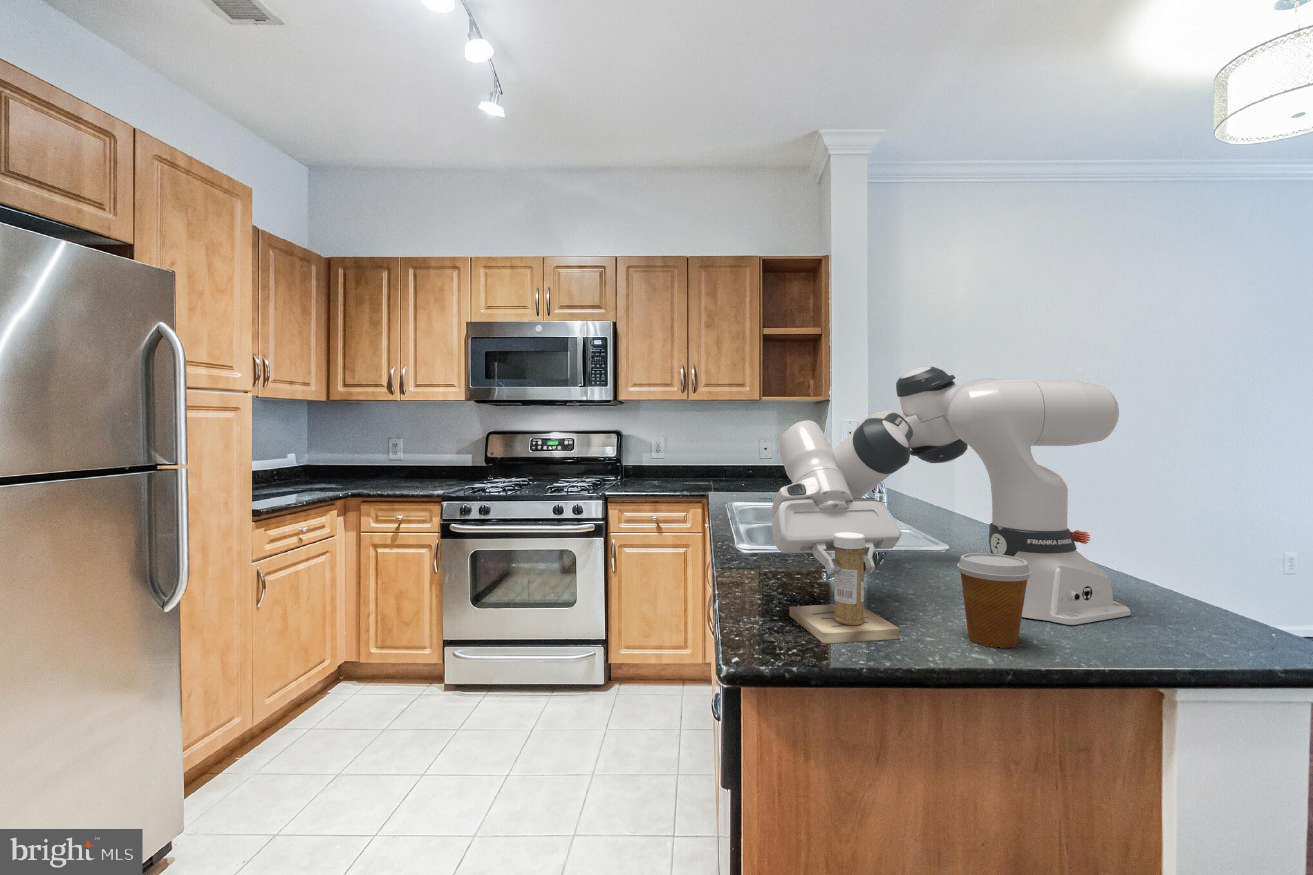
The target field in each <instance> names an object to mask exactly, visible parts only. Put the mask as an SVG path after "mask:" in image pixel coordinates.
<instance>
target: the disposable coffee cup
mask: <svg viewBox="0 0 1313 875" xmlns="http://www.w3.org/2000/svg"><path fill="white" fill-rule="evenodd" d="M956 566H957V568H958V570H959V572H960V578H961V584H962V594H963V602H964V610H965V618H966V625H967V626H966V628H967V636H968V639H969V640H971V641H972V642H974V643H976V644H978V643H979V645H983V646H986V647H989V646H990V647H989V648H997V647H1000V648H999V649H1008V648H1009V647H1011V648H1014V647H1017V646H1018V643H1019V642H1018V641H1019V635H1020V634H1019V633H1020V629H1021V628H1020V627H1021V623H1022V618H1023V617H1022V611H1023V605H1024V598H1025V592H1026V586H1027V580H1028V579H1029V575H1031V570H1029V566H1028V562H1027V561H1025V560H1023V559H1020V558H1016V557H1012V556H1007V555H999V554H991V553H987V552H986V553H984V552H983V553H982V552H979V553H978V552H973V553H972V552H971V553H965V554H961V556H960V559H959V562H958V563H957V565H956ZM1016 645H1017V646H1016ZM1006 647H1007V648H1006ZM1009 649H1010V648H1009Z"/></svg>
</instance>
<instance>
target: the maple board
mask: <svg viewBox="0 0 1313 875" xmlns="http://www.w3.org/2000/svg"><path fill="white" fill-rule="evenodd" d="M788 613H789V614H788V615H789V617H791V619H793V620H794V621H795V622H796V623H797V624H799V625H800V626H801V627H803V629H806V631H807V632H809V633H810V634H811V635H813V636H814V637H815V638H816V639H817V640H819V642H821V643H822V644H838V643H839V644H840V643H853V642H869V641H870V642H871V641H884V640H898V639H899V640H900V639H901V629H900V627H898V626H896V625H894V624H893V623H892V622H889V621H888V620H886V619H884V618H883V617H881V616H879V615H878V614H876V613H875V612H873V611H871V610H869V609H867V607H864V619H865V620H864V623H862V624H860V625H846V624H841V623H839V622H837V621H835V619H834V615H835V603H834V604H819V605H818V604H817V605H814V604H813V605H799V606H795V605H794V606H789V612H788Z"/></svg>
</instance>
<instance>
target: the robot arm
mask: <svg viewBox="0 0 1313 875" xmlns="http://www.w3.org/2000/svg"><path fill="white" fill-rule="evenodd" d="M955 379H956V376H955V375H954V374H951V375H949V374H948V373H947V372H946V371H945V370H943V369H940V368H938V367H936V366H920V367H916V368H913V369H910V370H909V371H907V372H905V373H904V374H903V375H902V376H901V377H899V378H898V379H897V381H896V383H895V389H896V396H897V397H899V404H900V407H901V411H902V412H901V411H899V410H895V409H884V410H883V409H882V410H880V411H877V412H875V413H873V414H871V415H869V416H867V417H866V418H864V419H863V420H862V421H861V422H859V424H858V425H857V426H856V427H855V429H854V430H853V433H851V434H850V435H849V436H847V437H846V438H845V439H844V440H843V441H842V442H841V443H840V444H839V445H838V446H836V447H835V448H833V447H832V446H831V444H830V442H829V440H828V439H827V436H826V435H825V433H824V431H822V428H820V426H819V424H818V423H817V422H816V421H813V420H801V421H798V422H796V423H794V424H792V425H790V426H789V427H788V428H787V429H786V430H785V431H784V432H783V433H782V435H781V436H780V438H779V452H780V456H781V460H782V464H783V467H784V470H785V472H786V475H787V477H788V478H789V480H791V484H789V485H785V486H782V487H781V488H779V490H778V491H777V494H776V496H775V498H774V500H773V503H772V506H771V511H770V515H771V517H772V518H773V519H772V523H771V532H772V535H773V536H772V537H773V541H774V545H775V547H776V549H778V550H779V551H780V552H781V553H782V554H790V553H791V554H792V553H794V554H795V553H812V554H813V557H814V559H816V560H817V561H818V562H819V563H820V564H821V565H823V566H824V569H825V571H826V573H827V575H834V574H838V572H839V571H840V565H839V564H838V560H837V559H835V558H833V557H832V556H830V554H829V553H827V552H835V548H834V547H835V546H834V534H836V533H841V532H851V533H859V534H862V535H864V536H865V547H864V551H863V552H864V574H865V573H867V574H869V573H870V574H871V573H873V572H874V570H875V568H876V566H875V563H874V560H873V554H874V551H875V550H890V549H893V548H894V547H895V546H896V545H897V544H898V542H899V540H900V539H901V536H902V531H901V528H900V526H899V525H898V523H897V521H896V520H895V518H894V515H892V514H891V511H890V510H889V509H888V508H887V505H886V504H885V503H884V501H881V500H878V499H876V498H875V497H870V496H869V497H865V498H864V496H865V495H867V494H868V493H869V492H871V491H872V490H873V489H874V488H875V487H877V486H879V484H880V483H882V482H883V481H884V480H885V479H888V477H889V476H891V475H892V474H894V473H895V472H898V471H899V470H900V469H902V468H903V467H905V466H906V465H908V464H909V462H910V458H911V456H912V457H917V458H918V459H920V460H921V461H924V462H926V463H930V464H945V463H949V462H952V461H954V460H956V459H958V458H959V457H961V456H963V455H964V454H965V452H966V451H967V450H968V449H969V448H968V447H970V448H971V449H972V450H973V451H974V452H975V453H976V454H977V456H978V457H979V458H980V460H981V461H982V463H983V465H984V467H985V469H986V472H987V474H988V478H989V481H990V491H991V509H992V513H991V514H992V515H991V517H992V518H991V519H992V520H991V523H989V527H988V528H989V530H988V544H989V550H990V551H989V552H990V554H999V555H1007V556H1012V557H1016V558H1020V559H1023V560H1025V561H1027V562H1028V566H1029V570H1031V575H1029V579H1028V580H1027V586H1026V592H1025V598H1024V605H1023V611H1022V618H1028V619H1034V620H1040V621H1041V620H1042V621H1048V622H1052V623H1058V624H1062V625H1067V626H1070V625H1071V626H1073V625H1074V626H1075V625H1082V624H1087V623H1092V622H1094V623H1095V622H1097V621H1105V620H1110V619H1116V618H1122V617H1128V616H1131V614H1132V613H1131V609H1130V608H1129V607H1128V606H1126V605H1125V604H1123V603H1120V602H1118V601H1115V600H1114V596H1113V587H1112V586H1113V585H1112V583H1111V579H1110V577H1109V576H1108V574H1107V573H1105V571H1103V570H1102V569H1101V568H1099V567H1097V566H1096V565H1095V564H1094V563H1092V562H1091V561H1090V560H1089V559H1088V558H1086V557H1085V556H1083V555H1082V554H1081V553H1080V552H1079V551H1078V550H1077V549H1078V548H1077V546H1076V543H1080V544H1084V545H1086V544H1088V543H1089V542H1091V535H1090V533H1089V532H1088V531H1080V530H1079V529H1078V530H1077V529H1076V530H1074V531H1071V530H1070V529H1069V528H1068V506H1069V505H1068V504H1069V503H1068V493H1069V490H1068V486H1067V484H1066V482H1065V481H1064V479H1063V478H1062V477H1061V476H1060V475H1059V474H1058V473H1056V472H1055V471H1052V470H1051V469H1049V468H1047V467H1045V466H1042V465H1040V464H1038V463H1037V461H1036V460H1035V459H1034V457H1033V454H1032V449H1031V447H1033V446H1034V447H1035V446H1036V447H1037V446H1038V447H1040V446H1041V447H1044V446H1045V447H1047V446H1049V447H1050V446H1051V447H1053V446H1054V447H1070V446H1071V447H1073V446H1078V445H1080V446H1081V445H1086V444H1087V445H1088V444H1092V443H1097V442H1101V441H1104V440H1106V439H1107V438H1108V437H1109V436H1110V435H1111V434H1112V433H1113V431H1114V430H1115V428H1116V427H1117V424H1118V422H1119V416H1120V409H1119V404H1118V403H1119V402H1118V401H1117V399H1116V397H1115V396H1114V394H1113V393H1112V392H1111V390H1110V389H1109V388H1107V387H1106V386H1104V385H1099V384H1095V383H1089V382H1081V381H1073V380H1055V379H1054V380H1048V379H1047V380H1045V379H1044V380H1043V379H1004V378H989V377H988V378H979V379H975V380H972V381H969V382H967V383H964V384H963V383H962V384H960V385H958V384H956V382H955V381H954V380H955ZM1075 542H1076V543H1075Z"/></svg>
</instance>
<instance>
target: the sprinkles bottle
mask: <svg viewBox="0 0 1313 875" xmlns="http://www.w3.org/2000/svg"><path fill="white" fill-rule="evenodd" d="M834 546H835V547H834V548H835V551H834V559H837V560H838V564H839V565H840V571H839V572H838V574H833V576H834V578H833V579H834V580H833V582H834V583H833V584H834V586H833V587H834V592H833V593H834V594H833V595H834V604H835V615H834V619H835V621H837V622H839V623H841V624H846V625H860V624H862V623H864V620H865V619H864V608H865V606H864V604H865V580H864V579H865V577H864V576H865V575H864V574H865V573H864V557H865V554H864V552H863V551H864V547H865V536H864V535H862V534H859V533H851V532H841V533H836V534H834Z"/></svg>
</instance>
